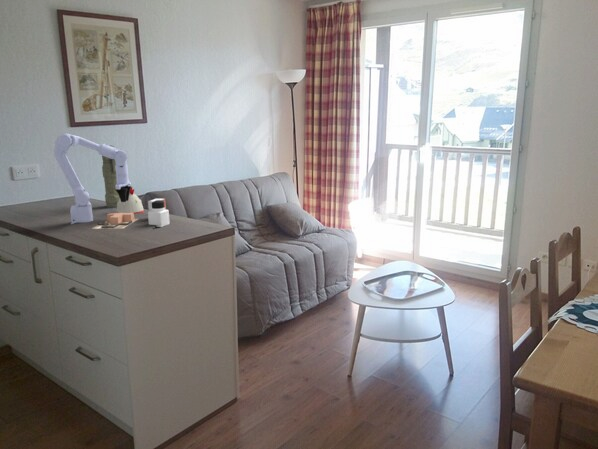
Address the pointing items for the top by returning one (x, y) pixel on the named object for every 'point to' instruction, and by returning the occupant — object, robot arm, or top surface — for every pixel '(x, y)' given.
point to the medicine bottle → (158, 214)
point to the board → (112, 225)
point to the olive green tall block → (110, 182)
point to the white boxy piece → (154, 200)
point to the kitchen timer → (130, 204)
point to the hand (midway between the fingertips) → (124, 201)
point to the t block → (119, 217)
